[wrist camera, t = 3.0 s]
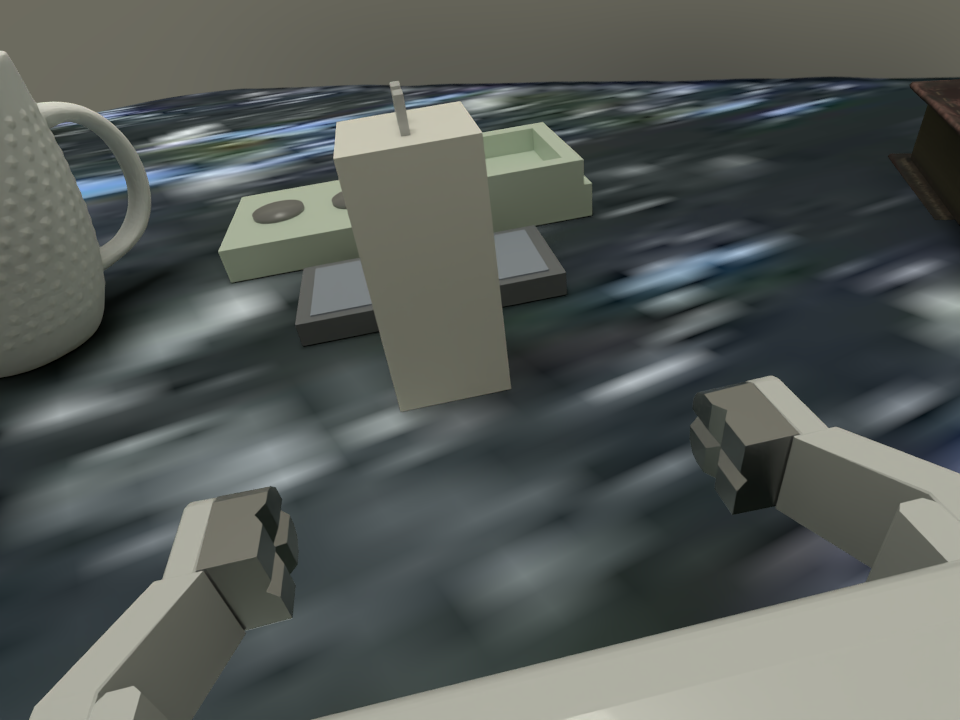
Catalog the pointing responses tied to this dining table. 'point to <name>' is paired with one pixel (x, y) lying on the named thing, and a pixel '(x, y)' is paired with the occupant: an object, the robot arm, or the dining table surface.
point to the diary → (936, 150)
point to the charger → (426, 248)
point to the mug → (53, 229)
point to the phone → (347, 304)
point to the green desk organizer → (326, 225)
